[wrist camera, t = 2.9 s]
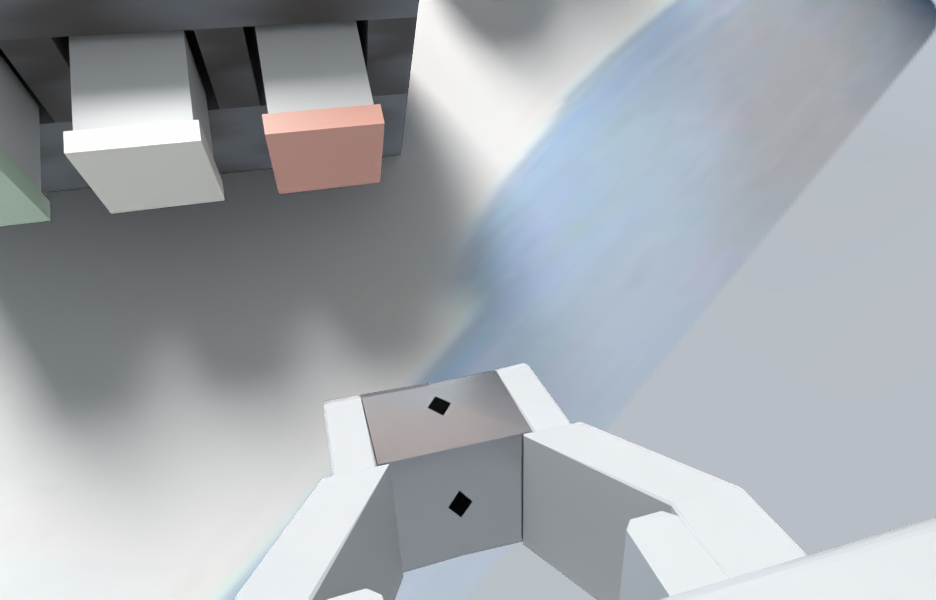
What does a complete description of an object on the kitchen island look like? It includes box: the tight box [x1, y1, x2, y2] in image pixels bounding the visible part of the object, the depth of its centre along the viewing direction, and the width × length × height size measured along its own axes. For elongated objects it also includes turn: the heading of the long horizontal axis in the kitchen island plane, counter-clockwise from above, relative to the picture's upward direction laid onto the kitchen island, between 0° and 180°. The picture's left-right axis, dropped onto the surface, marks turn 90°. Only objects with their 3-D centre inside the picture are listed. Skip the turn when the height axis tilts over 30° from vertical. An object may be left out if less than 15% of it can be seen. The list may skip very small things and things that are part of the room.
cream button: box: [63, 30, 225, 214], centre depth 22 cm, size 4×5×4 cm
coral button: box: [255, 21, 385, 194], centre depth 24 cm, size 4×5×4 cm
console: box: [0, 0, 419, 192], centre depth 25 cm, size 20×8×12 cm, turn 103°
